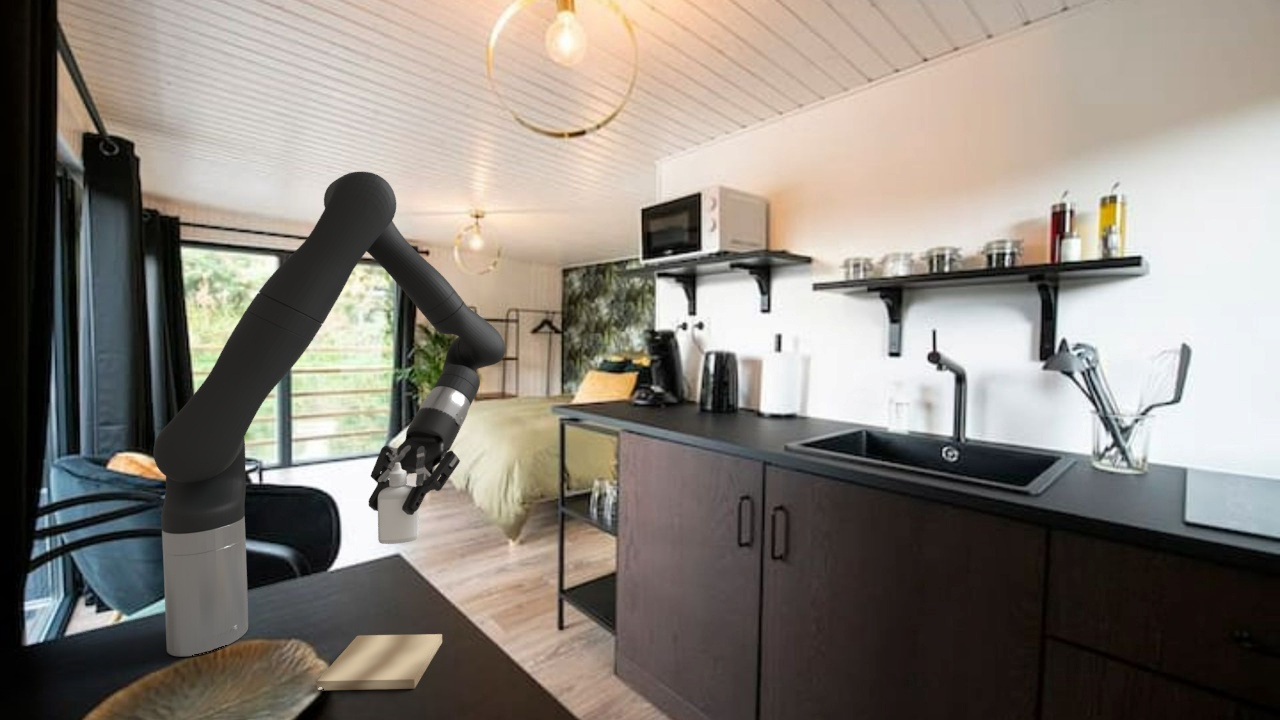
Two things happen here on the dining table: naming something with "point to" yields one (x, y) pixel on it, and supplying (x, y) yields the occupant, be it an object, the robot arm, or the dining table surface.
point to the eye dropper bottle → (396, 511)
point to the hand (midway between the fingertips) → (390, 510)
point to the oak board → (381, 662)
